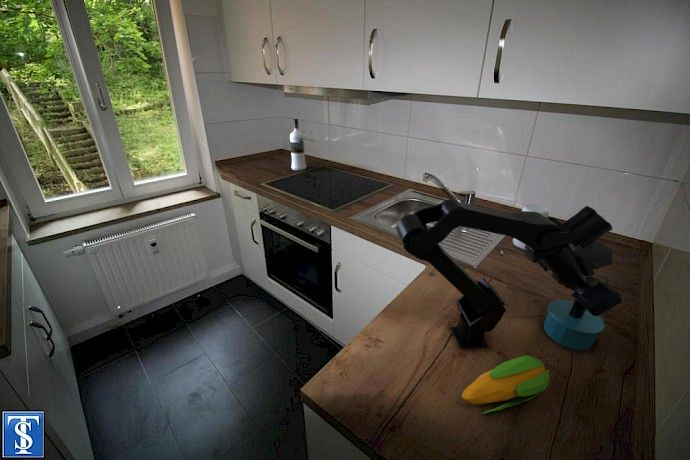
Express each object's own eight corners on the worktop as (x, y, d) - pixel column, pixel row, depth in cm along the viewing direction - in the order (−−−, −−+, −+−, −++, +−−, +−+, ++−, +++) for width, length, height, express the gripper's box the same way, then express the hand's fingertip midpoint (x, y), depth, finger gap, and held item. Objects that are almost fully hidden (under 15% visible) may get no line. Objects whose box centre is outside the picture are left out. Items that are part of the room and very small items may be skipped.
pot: (603, 348, 73) (612, 331, 71) (562, 351, 72) (570, 334, 70) (571, 317, 82) (578, 301, 80) (534, 320, 81) (541, 303, 79)
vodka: (300, 165, 202) (297, 117, 188) (309, 169, 196) (306, 118, 182) (288, 168, 197) (284, 118, 183) (296, 172, 191) (293, 120, 177)
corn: (566, 368, 59) (482, 402, 53) (556, 396, 63) (475, 431, 56) (533, 341, 66) (454, 369, 60) (525, 368, 69) (449, 397, 63)
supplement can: (542, 250, 112) (556, 212, 105) (521, 252, 111) (533, 214, 104) (527, 239, 119) (538, 203, 112) (507, 241, 118) (518, 204, 111)
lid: (598, 345, 68) (618, 309, 63) (541, 319, 75) (555, 285, 70) (606, 318, 75) (624, 284, 71) (553, 297, 82) (566, 264, 77)
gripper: (635, 259, 56) (663, 304, 62) (564, 214, 72) (591, 254, 78) (577, 295, 59) (609, 335, 65) (522, 245, 75) (551, 280, 81)
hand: (589, 297), depth 72 cm, fingers closed on lid, 3 cm apart
